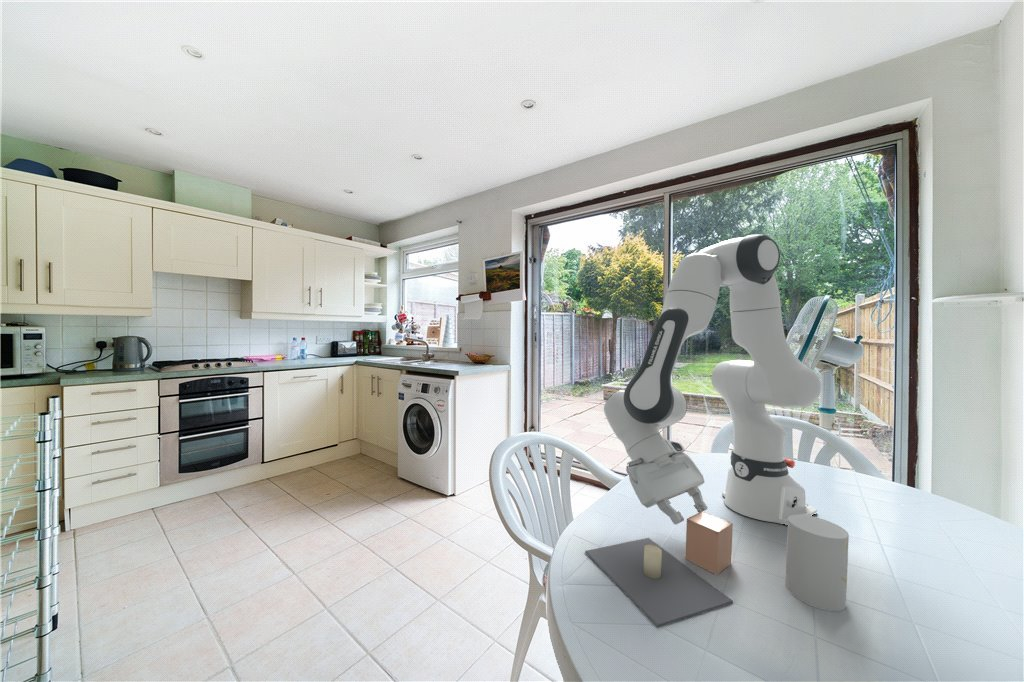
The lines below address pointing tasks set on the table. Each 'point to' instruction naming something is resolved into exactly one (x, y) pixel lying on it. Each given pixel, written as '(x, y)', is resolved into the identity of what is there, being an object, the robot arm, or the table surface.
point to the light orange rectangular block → (709, 542)
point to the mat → (657, 581)
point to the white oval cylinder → (817, 562)
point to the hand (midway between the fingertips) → (692, 516)
